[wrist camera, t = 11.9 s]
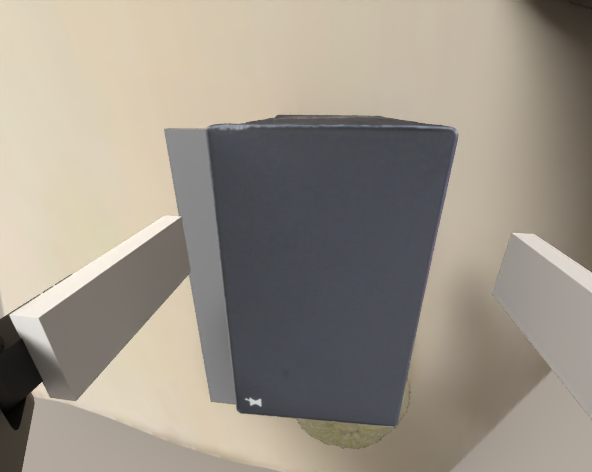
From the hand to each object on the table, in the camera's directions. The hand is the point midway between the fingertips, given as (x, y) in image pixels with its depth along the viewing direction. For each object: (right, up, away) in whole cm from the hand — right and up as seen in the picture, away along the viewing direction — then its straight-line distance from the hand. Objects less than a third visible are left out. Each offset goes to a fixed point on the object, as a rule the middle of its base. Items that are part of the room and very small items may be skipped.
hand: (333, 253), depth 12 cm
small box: (0, +3, +6) cm, 7 cm away
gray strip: (-8, -3, +10) cm, 13 cm away
